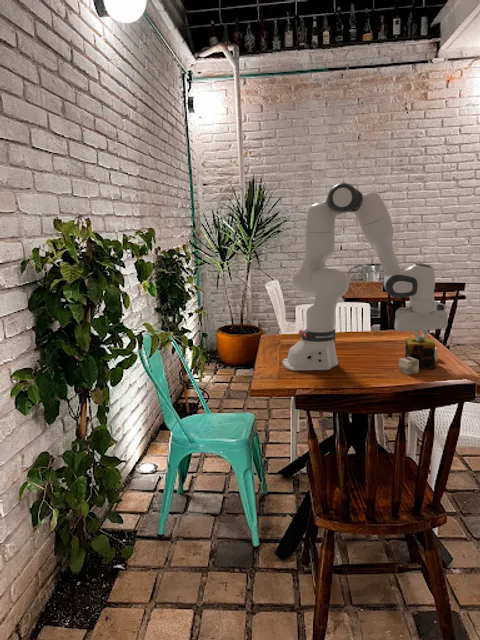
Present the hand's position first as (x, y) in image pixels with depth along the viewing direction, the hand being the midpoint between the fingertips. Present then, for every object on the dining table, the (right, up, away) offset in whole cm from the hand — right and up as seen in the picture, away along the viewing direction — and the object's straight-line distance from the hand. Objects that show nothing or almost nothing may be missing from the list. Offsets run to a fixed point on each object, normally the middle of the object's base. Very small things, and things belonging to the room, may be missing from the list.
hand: (420, 341), depth 185 cm
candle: (0, -10, +2) cm, 10 cm away
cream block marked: (+7, -8, +10) cm, 15 cm away
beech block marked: (-6, -12, -5) cm, 14 cm away
